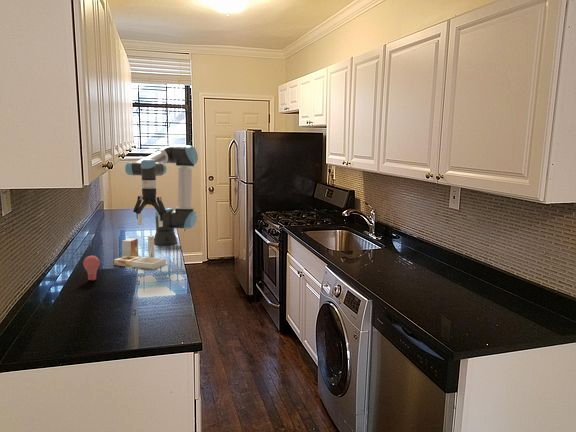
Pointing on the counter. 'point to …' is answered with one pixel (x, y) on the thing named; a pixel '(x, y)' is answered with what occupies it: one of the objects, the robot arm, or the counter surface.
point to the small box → (130, 247)
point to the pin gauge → (151, 246)
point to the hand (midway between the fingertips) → (150, 225)
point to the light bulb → (91, 266)
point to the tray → (149, 263)
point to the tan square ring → (125, 260)
